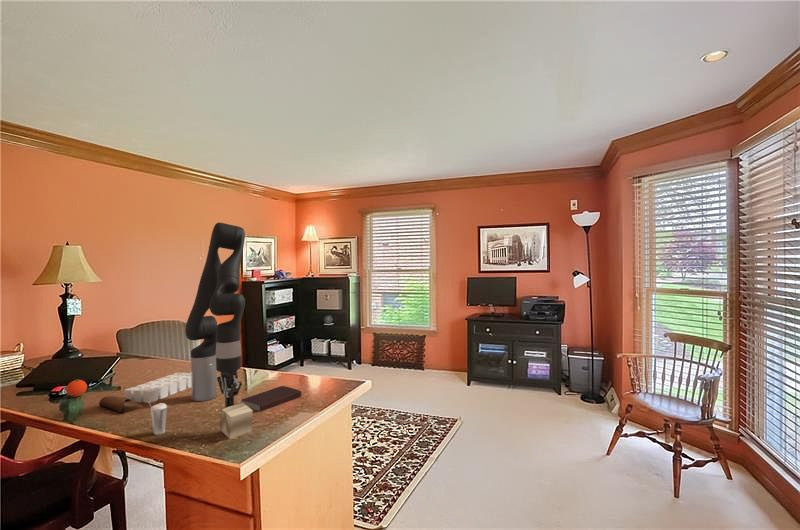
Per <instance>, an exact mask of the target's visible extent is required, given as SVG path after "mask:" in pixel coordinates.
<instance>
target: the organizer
mask: <svg viewBox="0 0 800 530" xmlns="http://www.w3.org/2000/svg"><path fill="white" fill-rule="evenodd" d="M190 388H191V371H190V372H175V373H172V374H168V375H166V376H164V377H159V378H157V379H155V380H151V381H148V382H145V383H141V384H139V385H136V386H134V387H132V386H131V387H129V388H126V389H124V390H123V391H124V394H123V395H124V396H123V398H128V399H131V401H134V402H136V403H142V402H143V403H146V404H147V403H148V402H149V403H150V404H151V403H154V402H156V401H158V400H162V399H164V398H166V397H168V396H172V395H174V394H176V393H177V394H178V392H182V391H185V390H186V389H190ZM149 403H148V404H149Z"/></svg>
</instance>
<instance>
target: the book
mask: <svg viewBox="0 0 800 530" xmlns="http://www.w3.org/2000/svg"><path fill="white" fill-rule="evenodd" d="M301 397H302V390H299V389H297V388H293V387H290V386H286V385H281V386H276V387H274V388H271V389H268V390H265V391H262V392H259V393H256V394H253V395H252V396H247V397H245V398H242V399H241V400H240V401H241V403H242V402H243V403H244V404H245V405H246V406H248V407H249V408H250V409H252V410H253V411H257V412H264V411H266V410H269V409H271V408H274V407H277V406H279V405H283V404H285V403H288V402H291V401H294V400H296V399H299V398H301Z"/></svg>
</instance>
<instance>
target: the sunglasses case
mask: <svg viewBox="0 0 800 530" xmlns="http://www.w3.org/2000/svg"><path fill="white" fill-rule="evenodd" d="M98 405H99V406H100V407H102V408H103V407H104V408H108V409H111V410H113V411H117V412H118V413H122V414H123V415H124V414H128V413H130V412H133V411H134V412H135V411H137V410H140V409H143V408H145V407H144V406H143V405H142V404H140V403H139V402H134V401H131V399H128V398H124V396H123V397H122V396H114V395H113V396H111V395H110V396H104V397H101V399H100V400H99V402H98Z"/></svg>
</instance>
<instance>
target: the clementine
mask: <svg viewBox="0 0 800 530" xmlns="http://www.w3.org/2000/svg"><path fill="white" fill-rule="evenodd" d="M87 389H88V385H87V383H86V381H85V380H82V379H74V380H73V381H71V382H69V383H68V385H67V386H66V388H65V392H66V394H67V395H68V396H69V395H76V396H70V397H71V398H72V397H74V398H77V397H80V396H82V395H83V394H82V393H84V392H86V391H87ZM78 394H81V395H78ZM84 394H85V393H84Z"/></svg>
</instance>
